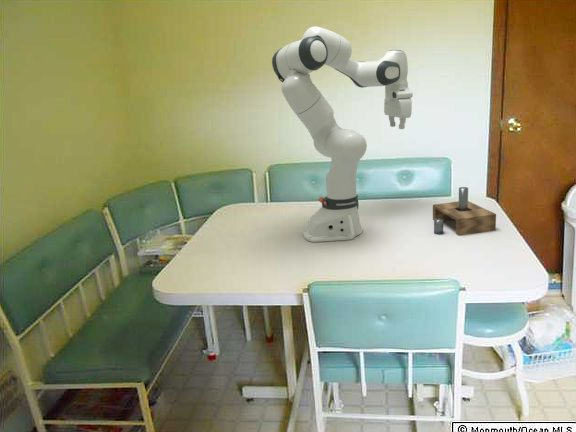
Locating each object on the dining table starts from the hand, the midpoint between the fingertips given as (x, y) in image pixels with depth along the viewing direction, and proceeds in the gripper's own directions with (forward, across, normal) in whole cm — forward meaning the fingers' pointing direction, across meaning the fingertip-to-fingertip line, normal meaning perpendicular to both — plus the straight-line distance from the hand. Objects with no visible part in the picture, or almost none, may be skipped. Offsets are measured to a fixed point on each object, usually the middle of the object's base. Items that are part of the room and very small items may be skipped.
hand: (397, 127), depth 197 cm
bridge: (+34, +30, +13) cm, 47 cm away
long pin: (+34, +30, +13) cm, 47 cm away
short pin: (+34, +35, +1) cm, 49 cm away
